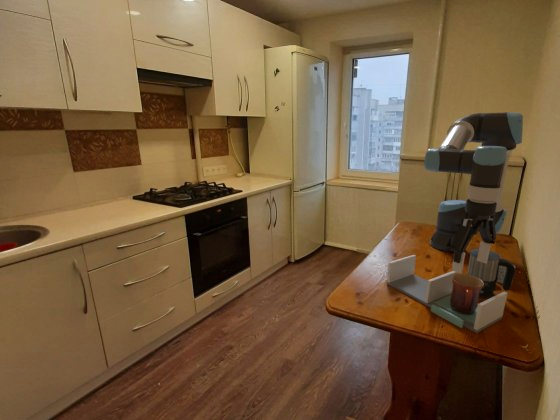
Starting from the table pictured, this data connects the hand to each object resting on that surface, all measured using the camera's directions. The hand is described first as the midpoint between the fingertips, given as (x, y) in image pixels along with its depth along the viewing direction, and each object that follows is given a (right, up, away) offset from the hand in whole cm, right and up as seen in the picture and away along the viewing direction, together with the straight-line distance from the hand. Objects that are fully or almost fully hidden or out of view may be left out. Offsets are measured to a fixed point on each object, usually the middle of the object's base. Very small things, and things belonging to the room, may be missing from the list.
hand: (469, 266), depth 95 cm
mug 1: (-1, -15, +1) cm, 15 cm away
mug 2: (+29, -10, +26) cm, 40 cm away
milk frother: (+16, -11, +19) cm, 27 cm away
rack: (-4, -13, +11) cm, 18 cm away
